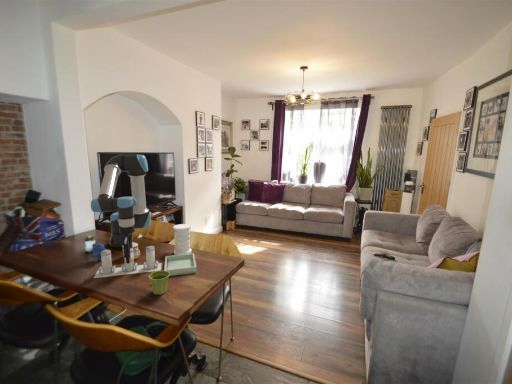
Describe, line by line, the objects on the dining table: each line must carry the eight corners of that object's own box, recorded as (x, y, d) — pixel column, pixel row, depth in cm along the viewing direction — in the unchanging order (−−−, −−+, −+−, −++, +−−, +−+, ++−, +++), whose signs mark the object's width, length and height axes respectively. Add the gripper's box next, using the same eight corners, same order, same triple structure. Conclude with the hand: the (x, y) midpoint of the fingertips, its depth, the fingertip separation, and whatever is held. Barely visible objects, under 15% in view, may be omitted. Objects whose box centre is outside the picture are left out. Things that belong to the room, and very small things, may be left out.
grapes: (86, 262, 154) (84, 243, 152) (96, 258, 160) (95, 239, 158) (101, 265, 150) (99, 246, 148) (111, 260, 157) (109, 242, 155)
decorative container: (188, 247, 180) (187, 223, 177) (194, 253, 170) (193, 227, 167) (171, 250, 173) (170, 225, 171) (176, 257, 164) (175, 230, 161)
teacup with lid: (119, 260, 157) (118, 242, 155) (131, 255, 165) (130, 238, 164) (134, 264, 153) (133, 245, 151) (145, 258, 161) (144, 240, 159)
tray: (165, 261, 157) (165, 256, 157) (194, 258, 162) (193, 253, 162) (164, 276, 139) (164, 270, 138) (196, 272, 144) (196, 266, 143)
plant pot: (163, 284, 131) (162, 268, 129) (174, 291, 125) (173, 274, 123) (145, 292, 123) (144, 275, 122) (156, 299, 117) (155, 281, 116)
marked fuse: (125, 268, 144) (124, 248, 142) (134, 267, 145) (133, 247, 143) (124, 272, 139) (122, 251, 137) (133, 271, 141) (132, 250, 139)
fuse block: (98, 272, 142) (96, 249, 140) (161, 265, 152) (160, 243, 150) (93, 280, 133) (91, 256, 131) (161, 272, 143) (159, 249, 140)
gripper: (122, 221, 145) (124, 260, 149) (115, 231, 129) (118, 274, 132) (136, 220, 147) (138, 258, 151) (131, 229, 131) (134, 272, 135)
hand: (129, 265), depth 142 cm, fingers closed on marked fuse, 5 cm apart
